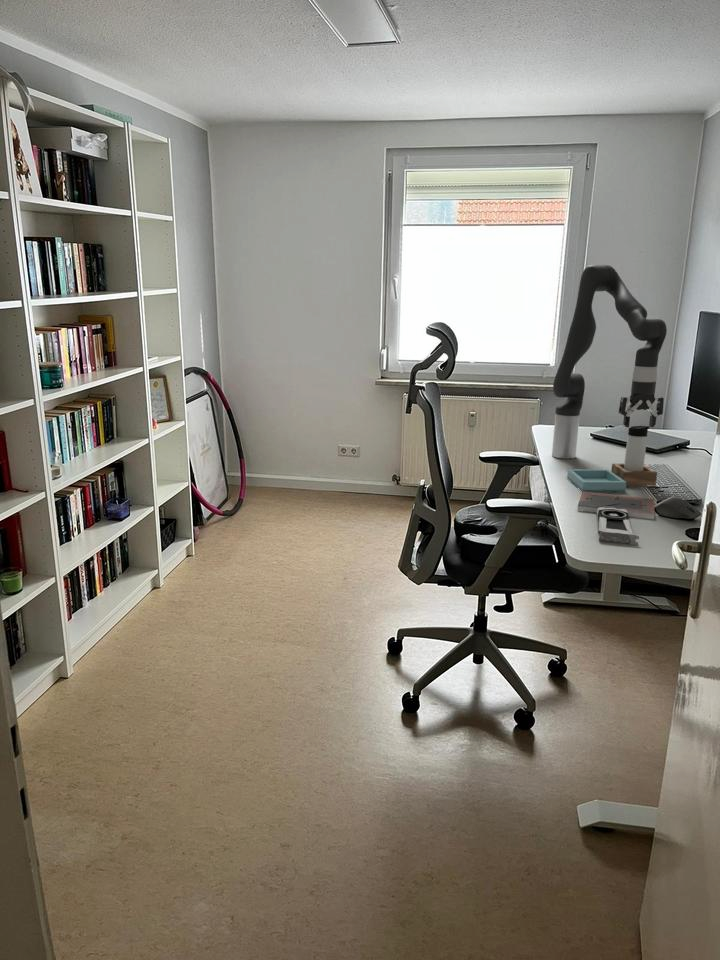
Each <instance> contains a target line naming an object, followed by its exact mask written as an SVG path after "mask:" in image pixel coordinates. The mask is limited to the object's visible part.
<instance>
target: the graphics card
mask: <svg viewBox="0 0 720 960" xmlns="http://www.w3.org/2000/svg"><path fill="white" fill-rule="evenodd" d="M595 514H596V525H597V533H598V536H599V537H598V541H599V542H609V543H618V544H619V543H621V544H628V545H637V546H638V545H639V542H638V541H636V540H640V536H639V535H637V534H634V531H633V529H632V524H631V521H630V517H629V516H628V512H627V511H626V510H624V509H620V510H619V509H615V508H603V507H599V508H598V509H597V512H596V513H595Z"/></svg>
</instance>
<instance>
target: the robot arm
mask: <svg viewBox="0 0 720 960" xmlns="http://www.w3.org/2000/svg"><path fill="white" fill-rule="evenodd" d="M596 292H607V293H608V294H609V295H611V296H612V297H613V299H614V305H615V306H614V307H615V309H616V311H617V313H618V315H619V316H620V317H621V318H623V320H624V321H625V322H626V323H627V325H628V328H629V330H630V332H631V334H632V336H633V337H634V338H635V339H636V340H637V341H638V340H639V341H641V342H646V343H645V345H644V346H643V347H641V348H637V350H636V353H635V360H634V368H633V372H632V380H631V389H630V396H627V397H626V396H621V397H620V401H619V407H618V414H620V415H622V416H623V426H624V427H625V428H630V423H631V422H630V421H631V415H632V414H633V413H634V412H635V411H636V410H637V411H641V410H645V411H648V412H649V413H650V414H649V415H650V416H649V424H648V426H649V428H654V426H656V424H657V417H658V416H661V415H664V414H663V413H664V401H665V400H664V397H662V396H655V394H656V386H657V380H658V362H659V356H660V355H659V354H660V352H661V350H662V347H663V345H664V341H665V339H666V336H667V333H668V331H667V325H666V322H665V321H664V320H663V319H659V318H652V319H651V318H648V319H647V317H648V311H647V309H646V307H644V306H643V304H641V303H640V302H639V301H638V299H636V298H635V297H634V296H633V294H632V293H631V292H630V290H629V289H628V287H627V286H626V285H625V283H624V281H623V280H622V278H621V276H620V275H619V273H618V272H617V270H616V269H615V268H614V267H613V266H611V265H610V264H590V265H587V266H585V268H584V269H583V271H582V273H581V276H580V281H579V286H578V293H577V298H576V305H575V308H574V312H573V317H572V320H571V323H570V327H569V331H568V335H567V339H566V343H565V348H564V350H563V354H562V358H561V360H560V362H559V365H558V369H557V371H556V373H555V375H554V376H555V377H554V380H553V383H552V385H553V386H552V391H553V394H554V395H555V396H556V397H557V398H566V400H565V401H564V402H563V403H560V404H559V405H556V408H555V416H554V429H553V440H552V449H551V456H552V457H553V458H558V459H563V460H567V459H570V458H571V459H575V458H576V457H577V446H578V438H579V437H578V436H579V424H580V413H581V409H582V407H583V403H584V395H585V388H586V383H585V378H584V375H582V374H580V373H577V372H576V373H573V371H574V369H575V366H576V365H577V363H579V361H580V360H581V358H582V357H584V356H585V354H586V353H587V352H588V350H589V349H590V348H591V346H592V344H593V342H594V338H595V334H596V331H597V324H596V319H595V316H594V312H593V301H594V298H595V297H594V296H595V294H596ZM628 403H630V405H628V406H627V404H628ZM654 403H656V410H655V408H654V406H653V404H654ZM626 407H627V409H626ZM571 459H570V460H571Z"/></svg>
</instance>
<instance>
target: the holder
mask: <svg viewBox="0 0 720 960" xmlns="http://www.w3.org/2000/svg"><path fill="white" fill-rule="evenodd" d="M624 464H625V462H624V463H619V462H618V463H617V462H616V463H611V470H610V471H611V472H612V473H614V474H615V475H617V476H618V477H620V478H621V479H623V480H624V481H625V482H626V487H648V486H647V485H656V484H657V477H658V471H656V470H655V469H653V468H651V467H649V466H647V465H646V464H644V467H643V471H627V470H626V469H624Z"/></svg>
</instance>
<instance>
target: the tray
mask: <svg viewBox="0 0 720 960" xmlns="http://www.w3.org/2000/svg"><path fill="white" fill-rule="evenodd" d="M566 476H567V477H566V479H567V478H568V479H569V480H570V481H571V482H572V483H573V484H574V485H575V487H576V488H577V489H578V488H579V489H580V490H581V491H583V492H593V493H626V489H627V486H626V482H625V481H624V480H623V479H621V478H620V477H618V476H617V475H615V474H614V473H612V472H611V470H610V469H567V475H566ZM568 479H567V480H568ZM569 480H568V481H569ZM570 481H569V482H570ZM571 482H570V483H571ZM572 483H571V484H572ZM573 484H572V485H573ZM574 485H573V486H574ZM579 489H578V490H579ZM580 490H579V491H580ZM581 491H580V492H581Z"/></svg>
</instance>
